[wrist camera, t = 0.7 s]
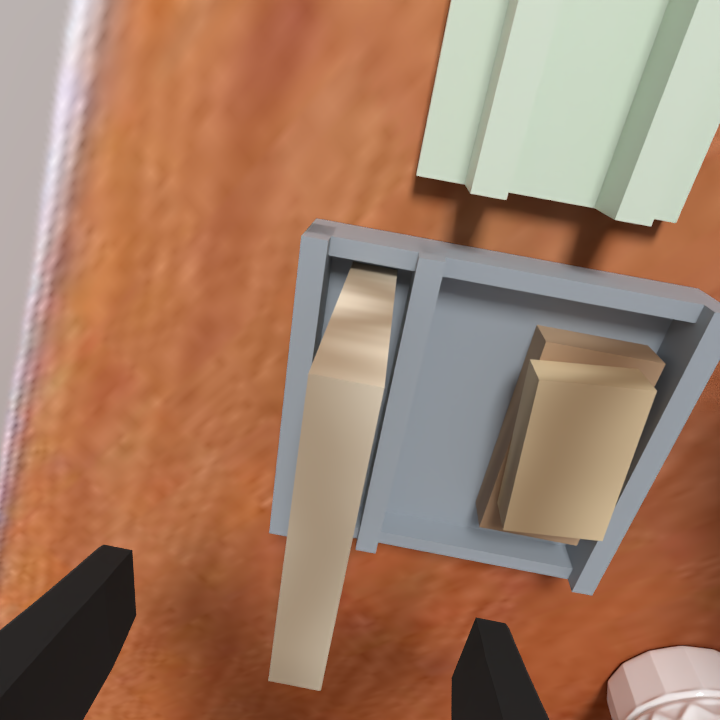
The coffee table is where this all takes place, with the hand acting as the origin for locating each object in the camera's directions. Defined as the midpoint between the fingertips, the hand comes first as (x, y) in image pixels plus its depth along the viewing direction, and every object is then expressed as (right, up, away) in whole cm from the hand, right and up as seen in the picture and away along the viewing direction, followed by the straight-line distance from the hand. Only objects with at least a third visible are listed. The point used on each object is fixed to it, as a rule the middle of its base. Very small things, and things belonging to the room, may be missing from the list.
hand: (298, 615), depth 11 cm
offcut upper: (+8, +2, +7) cm, 11 cm away
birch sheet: (+1, +4, +9) cm, 10 cm away
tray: (+5, +4, +9) cm, 11 cm away
